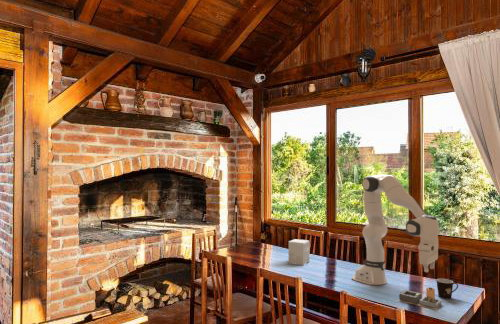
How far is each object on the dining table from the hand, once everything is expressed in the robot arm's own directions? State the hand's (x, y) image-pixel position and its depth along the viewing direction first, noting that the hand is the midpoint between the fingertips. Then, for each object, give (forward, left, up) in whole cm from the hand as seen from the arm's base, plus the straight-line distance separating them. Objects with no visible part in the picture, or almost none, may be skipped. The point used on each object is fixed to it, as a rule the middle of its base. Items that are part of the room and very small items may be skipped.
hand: (429, 270), depth 196 cm
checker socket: (-10, 0, -18) cm, 21 cm away
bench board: (-5, 0, -19) cm, 20 cm away
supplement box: (-106, +28, -20) cm, 111 cm away
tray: (+1, 0, -18) cm, 18 cm away
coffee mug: (+4, +20, -19) cm, 28 cm away
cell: (+1, 0, -18) cm, 18 cm away
